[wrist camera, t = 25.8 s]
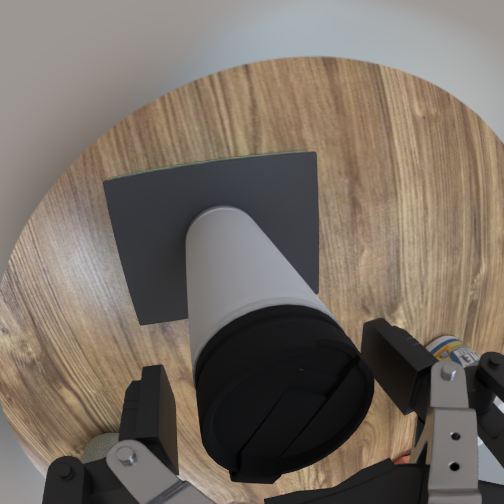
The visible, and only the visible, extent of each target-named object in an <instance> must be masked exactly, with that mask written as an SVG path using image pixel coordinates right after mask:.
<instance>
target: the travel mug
mask: <svg viewBox="0 0 504 504" xmlns="http://www.w3.org/2000/svg"><path fill="white" fill-rule="evenodd" d="M186 275H187V298H188V317H189V333H190V348H191V361H192V373H193V380H194V387H195V389H196V398H197V407H198V416H199V424H200V432H201V438H202V443H203V446H204V448H205V450H206V451H207V453H208V455H209V456H210V457H211V458H212V459H213V460H214V461H215V462H216V463H217V464H218V465H220V466H222V467H223V468H225V469H227V470H229V474H230V478H231V481H232V482H243V483H259V484H273V483H274V482H275V481H276V480H277V479H279V478H280V477H281V475H282V474H286V473H290V472H294V471H297V470H300V469H302V468H305V467H307V466H310V465H312V464H314V463H316V462H318V461H320V460H321V459H323V458H325V457H326V456H328V455H329V454H331V453H332V452H334V451H335V450H336V449H338V448H339V447H340V446H341V445H342V444H343V443H345V442H346V441H347V440H348V439H349V438H350V437H351V435H352V434H353V433H354V432H355V431H356V430H357V429H358V427H359V426H360V424H361V423H362V421H363V420H364V418H365V416H366V414H367V412H368V410H369V408H370V405H371V402H372V398H373V394H374V376H373V372H372V368H371V367H370V366H369V365H368V363H367V362H366V360H365V359H364V358H363V356H362V355H361V353H360V352H359V351H358V349H357V348H356V346H355V345H354V344H353V342H352V341H351V339H350V338H349V337H348V336H347V335H346V334H345V333H344V330H343V329H342V327H341V326H340V324H339V322H338V321H337V320H336V319H335V317H334V316H333V315H332V314H331V313H330V311H329V310H328V309H327V308H326V306H325V305H324V304H323V303H322V302H321V300H320V299H319V298H318V297H317V295H316V294H315V293H314V292H313V291H312V289H311V288H310V287H309V286H308V285H307V283H306V282H305V281H304V280H303V279H302V277H301V276H300V275H299V274H298V273H297V271H296V270H295V269H294V268H293V267H292V265H291V264H290V263H289V262H288V261H287V259H286V258H285V257H284V256H283V255H282V254H281V252H280V251H279V250H278V249H277V248H276V246H275V245H274V244H273V243H272V242H271V240H270V239H269V238H268V237H267V236H266V235H265V233H264V232H263V231H262V230H261V229H260V228H259V226H258V225H257V224H256V223H255V222H254V221H253V219H252V218H251V217H250V216H249V215H248V214H247V213H246V212H244V211H242V210H241V209H239V208H236V207H233V206H228V205H219V206H214V207H210V208H208V209H206V210H204V211H203V212H201V213H200V214H198V215H197V216H196V217H195V219H194V220H193V221H192V222H191V224H190V226H189V228H188V231H187V233H186Z"/></svg>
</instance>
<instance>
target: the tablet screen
mask: <svg viewBox="0 0 504 504" xmlns="http://www.w3.org/2000/svg"><path fill="white" fill-rule="evenodd" d="M103 185H104V190H105V195H106V200H107V205H108V210H109V214H110V219H111V223H112V228H113V232H114V236H115V240H116V244H117V248H118V252H119V256H120V260H121V264H122V267H123V271H124V275H125V278H126V282H127V285H128V289H129V292H130V295H131V299H132V302H133V305H134V308H135V311H136V315H137V318H138V321H139V324H140V326H141V325H148V324H155V323H162V322H168V321H175V320H181V319H187V318H189V317H188V298H187V275H186V233H187V231H188V228H189V226H190V224H191V222H192V221H193V220H194V219H195V217H196V216H197V215H198V214H200V213H201V212H203V211H204V210H206V209H208V208H210V207H214V206H219V205H228V206H233V207H236V208H239V209H241V210H242V211H244V212H246V213H247V214H248V215H249V216H250V217H251V218H252V219H253V221H254V222H255V223H256V224H257V225H258V226H259V228H260V229H261V230H262V231H263V232H264V233H265V235H266V236H267V237H268V238H269V239H270V240H271V242H272V243H273V244H274V245H275V246H276V248H277V249H278V250H279V251H280V252H281V254H282V255H283V256H284V257H285V258H286V259H287V261H288V262H289V263H290V264H291V265H292V267H293V268H294V269H295V270H296V271H297V273H298V274H299V275H300V276H301V277H302V279H303V280H304V281H305V282H306V283H307V285H308V286H309V287H310V288H311V289H312V291H313V292H314V293H315V294H318V293H319V212H318V178H317V155H316V152H299V153H286V154H275V155H265V156H255V157H246V158H237V159H229V160H221V161H214V162H207V163H200V164H193V165H186V166H180V167H174V168H168V169H162V170H156V171H151V172H145V173H140V174H135V175H130V176H125V177H120V178H115V179H110V180H106V181H104V182H103Z"/></svg>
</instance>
